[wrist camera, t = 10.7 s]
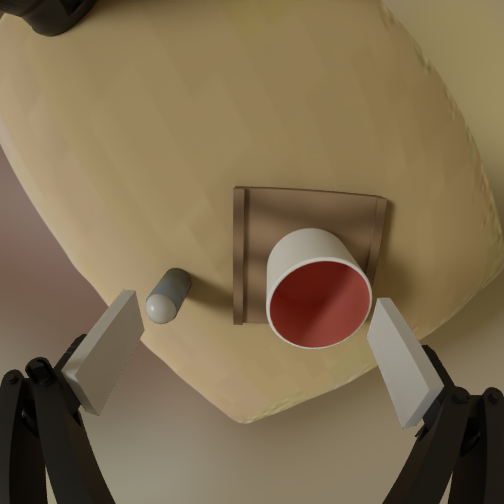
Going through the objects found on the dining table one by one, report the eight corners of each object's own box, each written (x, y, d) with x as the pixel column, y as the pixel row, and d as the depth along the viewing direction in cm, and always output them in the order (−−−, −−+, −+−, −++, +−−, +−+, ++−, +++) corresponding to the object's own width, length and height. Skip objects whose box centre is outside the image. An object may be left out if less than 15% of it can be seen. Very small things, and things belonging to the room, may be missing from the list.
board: (235, 186, 32) (233, 188, 30) (380, 196, 31) (387, 199, 29) (235, 315, 38) (233, 324, 36) (357, 318, 38) (361, 326, 36)
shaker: (162, 267, 36) (136, 299, 28) (190, 268, 36) (169, 303, 28) (166, 292, 38) (142, 328, 29) (192, 294, 38) (174, 333, 29)
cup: (270, 302, 36) (270, 354, 26) (262, 229, 32) (260, 263, 23) (345, 295, 35) (367, 342, 25) (346, 221, 31) (376, 252, 22)
